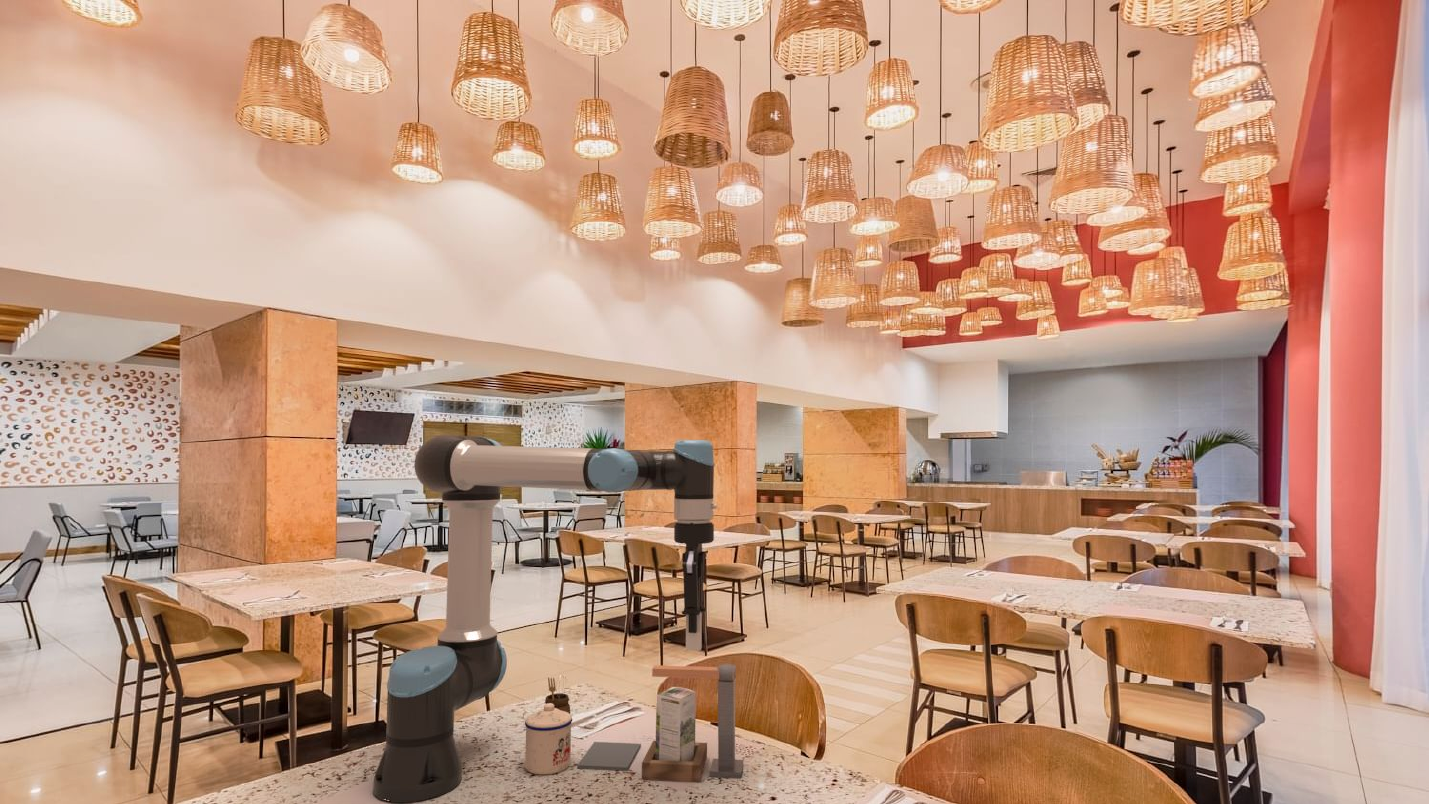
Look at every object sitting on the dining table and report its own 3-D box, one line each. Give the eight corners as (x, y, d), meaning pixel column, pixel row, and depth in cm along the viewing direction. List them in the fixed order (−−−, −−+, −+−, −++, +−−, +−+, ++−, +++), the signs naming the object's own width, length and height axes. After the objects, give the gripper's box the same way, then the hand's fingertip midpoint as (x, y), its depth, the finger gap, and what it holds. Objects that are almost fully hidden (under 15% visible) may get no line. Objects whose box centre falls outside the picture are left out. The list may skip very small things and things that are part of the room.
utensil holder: (574, 725, 161) (575, 670, 162) (562, 735, 155) (563, 678, 156) (550, 723, 162) (551, 669, 164) (537, 733, 156) (538, 676, 158)
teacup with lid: (560, 777, 134) (561, 713, 135) (515, 774, 135) (517, 710, 136) (583, 752, 145) (584, 694, 147) (541, 749, 147) (543, 691, 148)
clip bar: (651, 677, 138) (651, 666, 138) (655, 672, 142) (655, 661, 142) (735, 680, 136) (735, 669, 137) (736, 674, 140) (736, 664, 140)
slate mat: (577, 768, 138) (577, 765, 138) (594, 744, 150) (594, 741, 150) (627, 770, 137) (627, 767, 137) (640, 746, 149) (640, 743, 149)
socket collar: (641, 779, 133) (641, 762, 133) (653, 755, 144) (653, 740, 144) (700, 782, 132) (699, 765, 132) (707, 758, 143) (707, 742, 143)
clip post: (709, 776, 134) (709, 683, 136) (713, 763, 140) (713, 674, 142) (741, 778, 133) (740, 684, 135) (743, 765, 139) (743, 675, 141)
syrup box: (670, 760, 142) (671, 685, 143) (696, 766, 139) (696, 689, 140) (654, 770, 137) (655, 693, 138) (680, 777, 134) (680, 697, 135)
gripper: (709, 524, 128) (709, 659, 125) (717, 519, 141) (717, 640, 139) (668, 523, 129) (667, 657, 126) (680, 518, 142) (679, 639, 140)
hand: (693, 648), depth 133 cm, fingers closed
